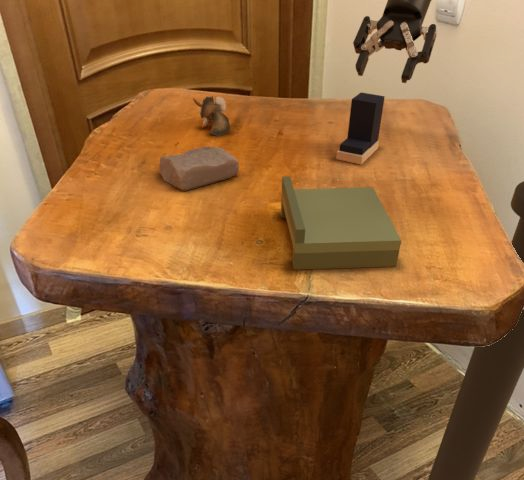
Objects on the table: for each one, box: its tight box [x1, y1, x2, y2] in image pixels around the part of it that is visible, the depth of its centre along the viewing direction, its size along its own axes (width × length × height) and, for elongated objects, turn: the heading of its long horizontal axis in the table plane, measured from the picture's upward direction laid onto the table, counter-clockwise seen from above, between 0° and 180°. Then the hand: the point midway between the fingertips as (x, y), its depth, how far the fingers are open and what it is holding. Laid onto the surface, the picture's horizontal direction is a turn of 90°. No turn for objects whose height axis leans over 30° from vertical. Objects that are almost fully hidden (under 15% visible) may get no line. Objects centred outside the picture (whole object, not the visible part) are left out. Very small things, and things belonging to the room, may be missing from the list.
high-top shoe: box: [335, 92, 386, 165], centre depth 101 cm, size 9×5×10 cm, turn 152°
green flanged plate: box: [280, 175, 402, 271], centre depth 78 cm, size 14×16×6 cm
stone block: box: [158, 146, 240, 192], centre depth 95 cm, size 12×5×10 cm
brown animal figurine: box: [192, 95, 231, 137], centre depth 112 cm, size 8×7×9 cm
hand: (381, 76), depth 102 cm, fingers open, 8 cm apart
